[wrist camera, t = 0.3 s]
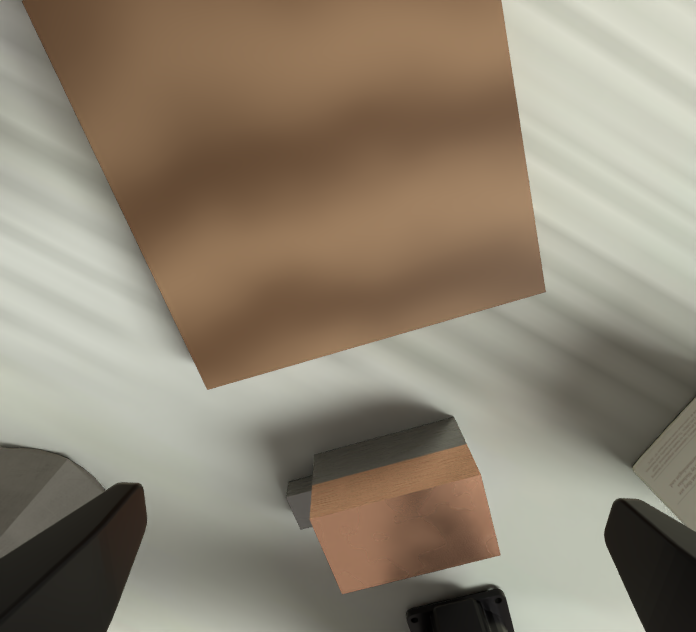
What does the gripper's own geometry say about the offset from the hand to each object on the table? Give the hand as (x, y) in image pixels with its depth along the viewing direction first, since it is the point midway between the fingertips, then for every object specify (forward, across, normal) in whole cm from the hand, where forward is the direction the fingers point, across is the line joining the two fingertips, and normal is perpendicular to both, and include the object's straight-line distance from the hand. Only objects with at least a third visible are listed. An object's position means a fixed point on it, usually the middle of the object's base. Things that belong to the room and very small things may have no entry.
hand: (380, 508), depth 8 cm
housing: (+14, -3, +10) cm, 17 cm away
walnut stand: (+13, +2, -6) cm, 15 cm away
